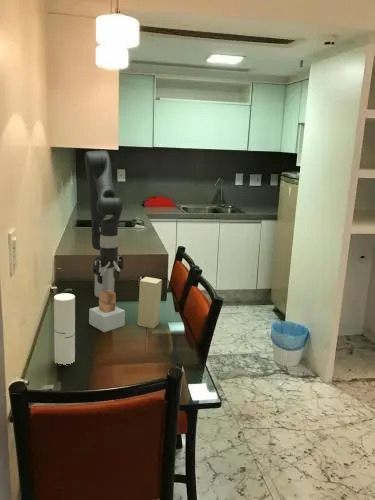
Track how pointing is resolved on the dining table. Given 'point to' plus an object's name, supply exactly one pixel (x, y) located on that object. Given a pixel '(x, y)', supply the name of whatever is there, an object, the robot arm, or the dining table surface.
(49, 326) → the dining table surface
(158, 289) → the tall beige block
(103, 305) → the terracotta block
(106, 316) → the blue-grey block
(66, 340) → the cylindrical container
